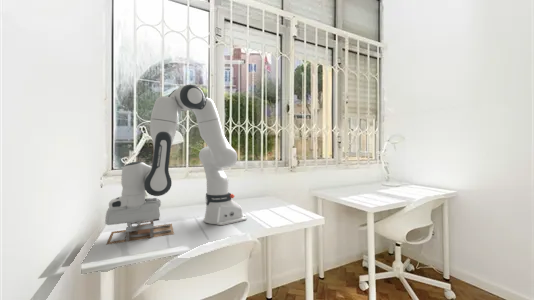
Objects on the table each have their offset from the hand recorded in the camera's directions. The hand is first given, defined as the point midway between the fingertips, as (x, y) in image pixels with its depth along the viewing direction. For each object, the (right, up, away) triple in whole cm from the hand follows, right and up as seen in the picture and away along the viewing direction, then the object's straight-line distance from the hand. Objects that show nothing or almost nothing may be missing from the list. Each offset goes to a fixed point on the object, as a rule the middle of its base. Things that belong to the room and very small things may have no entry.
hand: (134, 231), depth 101 cm
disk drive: (-6, -2, +22) cm, 22 cm away
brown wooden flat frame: (+3, -3, +2) cm, 4 cm away
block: (+4, -1, +2) cm, 4 cm away
